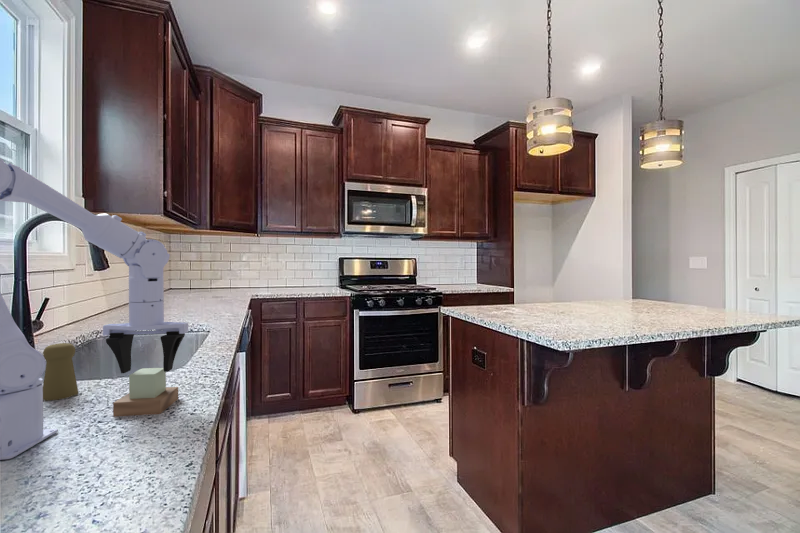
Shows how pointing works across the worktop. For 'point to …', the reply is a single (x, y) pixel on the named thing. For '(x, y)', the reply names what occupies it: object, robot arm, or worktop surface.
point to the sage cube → (147, 383)
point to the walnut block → (145, 404)
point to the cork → (59, 372)
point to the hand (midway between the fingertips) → (147, 371)
